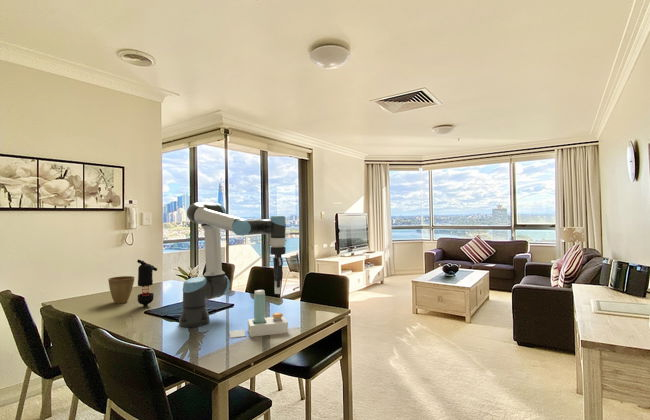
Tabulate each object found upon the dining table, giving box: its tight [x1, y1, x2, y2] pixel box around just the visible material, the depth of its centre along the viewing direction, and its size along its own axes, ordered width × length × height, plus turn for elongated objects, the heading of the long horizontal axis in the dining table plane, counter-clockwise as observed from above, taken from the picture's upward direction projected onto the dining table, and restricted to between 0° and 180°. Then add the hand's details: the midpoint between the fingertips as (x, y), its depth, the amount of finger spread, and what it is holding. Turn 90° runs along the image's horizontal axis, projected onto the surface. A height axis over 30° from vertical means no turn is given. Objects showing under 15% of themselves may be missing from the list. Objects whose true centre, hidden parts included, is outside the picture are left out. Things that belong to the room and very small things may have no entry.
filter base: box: [247, 316, 289, 338], centre depth 165 cm, size 18×11×5 cm, turn 109°
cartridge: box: [253, 289, 266, 324], centre depth 163 cm, size 5×5×20 cm
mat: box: [229, 329, 246, 339], centre depth 160 cm, size 7×9×1 cm
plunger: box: [272, 312, 284, 322], centre depth 166 cm, size 5×5×4 cm
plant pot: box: [107, 275, 135, 304], centre depth 219 cm, size 15×15×16 cm
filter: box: [136, 259, 158, 308], centre depth 210 cm, size 14×9×30 cm
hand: (277, 293), depth 166 cm, fingers closed
